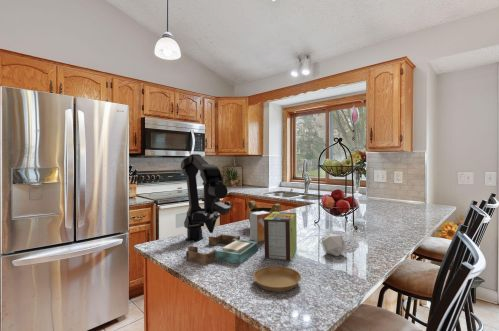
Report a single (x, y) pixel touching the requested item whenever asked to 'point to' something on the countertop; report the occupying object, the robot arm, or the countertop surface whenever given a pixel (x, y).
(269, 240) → the protein box
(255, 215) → the small box
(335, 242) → the white faceted lump
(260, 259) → the countertop surface
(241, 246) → the cream block
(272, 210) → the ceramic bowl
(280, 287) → the plant saucer
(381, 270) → the countertop surface
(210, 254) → the box
